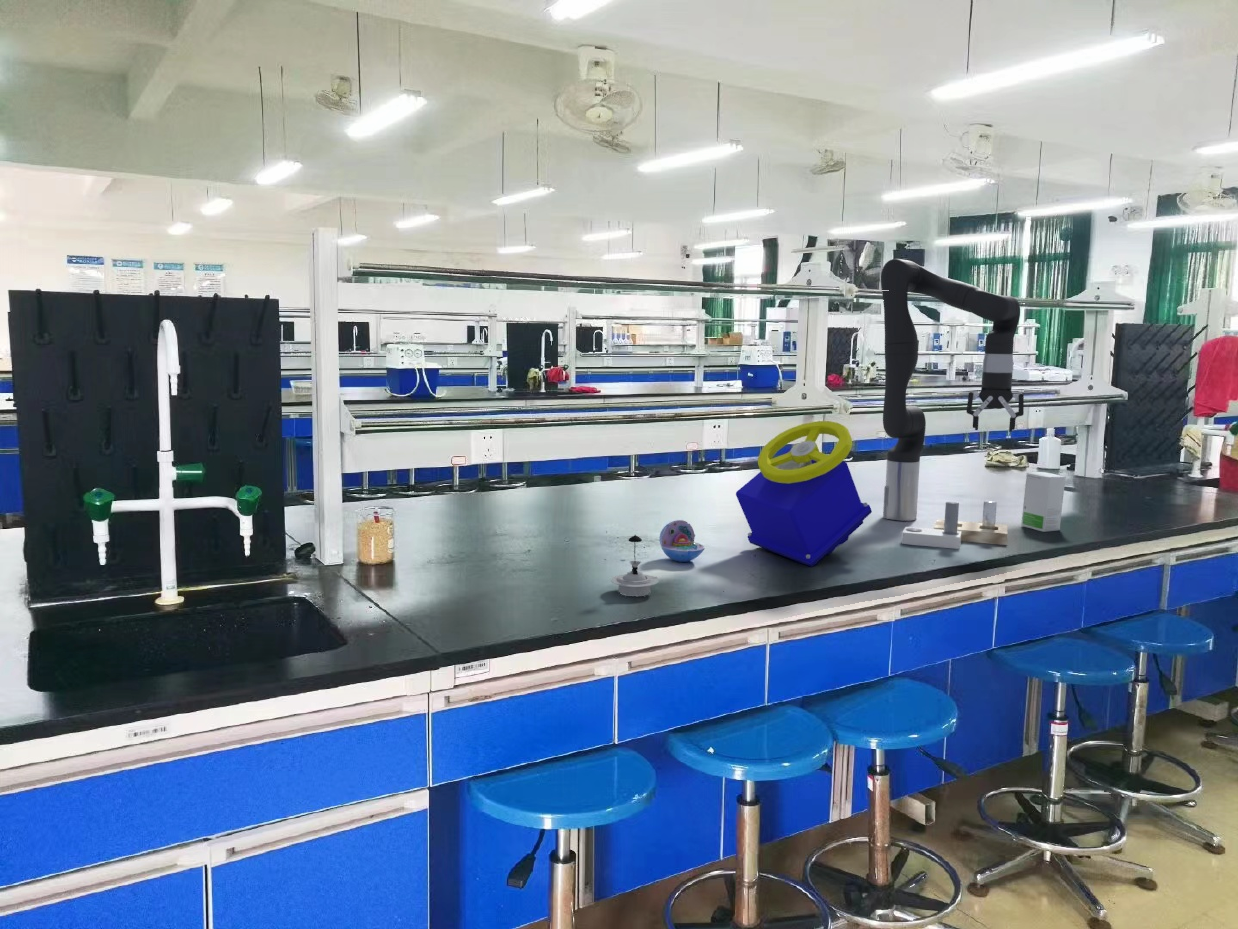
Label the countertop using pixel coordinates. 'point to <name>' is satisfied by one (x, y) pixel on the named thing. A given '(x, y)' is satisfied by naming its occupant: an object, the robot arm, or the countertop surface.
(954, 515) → the block
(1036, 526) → the skincare box
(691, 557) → the cell model
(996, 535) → the pin board
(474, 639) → the countertop surface
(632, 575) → the white domed rod stand
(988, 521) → the steel pin
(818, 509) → the control box
